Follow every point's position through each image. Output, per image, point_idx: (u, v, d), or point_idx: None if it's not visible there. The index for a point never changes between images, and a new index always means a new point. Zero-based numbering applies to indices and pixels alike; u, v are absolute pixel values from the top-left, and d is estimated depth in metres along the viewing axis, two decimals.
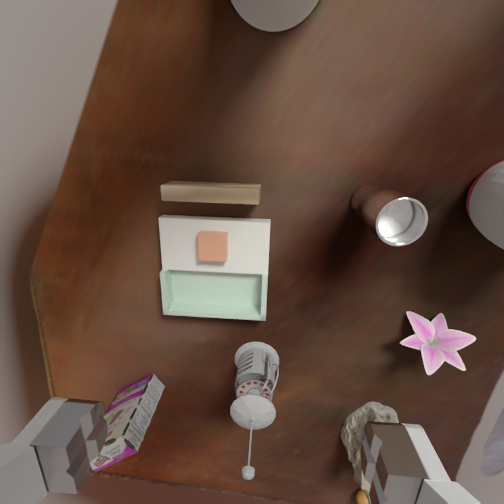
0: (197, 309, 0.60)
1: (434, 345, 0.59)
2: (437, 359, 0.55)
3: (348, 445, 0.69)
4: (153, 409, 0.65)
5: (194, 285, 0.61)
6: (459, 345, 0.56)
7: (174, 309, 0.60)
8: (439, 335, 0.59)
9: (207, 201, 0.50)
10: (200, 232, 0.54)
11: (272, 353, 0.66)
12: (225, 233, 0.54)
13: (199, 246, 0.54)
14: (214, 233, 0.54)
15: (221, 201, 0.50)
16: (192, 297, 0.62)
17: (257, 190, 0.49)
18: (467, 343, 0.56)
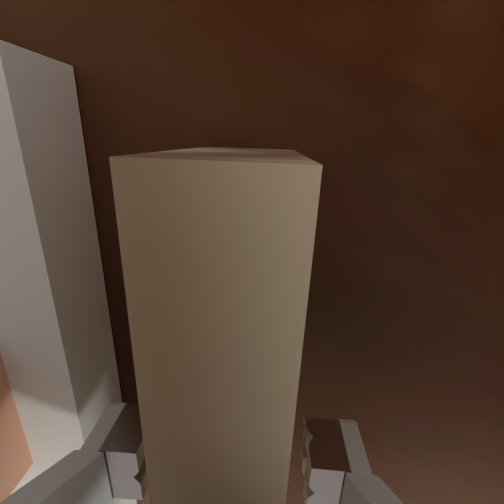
0: None
1: None
2: None
3: None
4: None
5: None
6: None
7: None
8: None
9: None
10: None
11: None
12: (4, 493, 0.09)
13: None
14: None
15: None
16: None
17: None
18: None
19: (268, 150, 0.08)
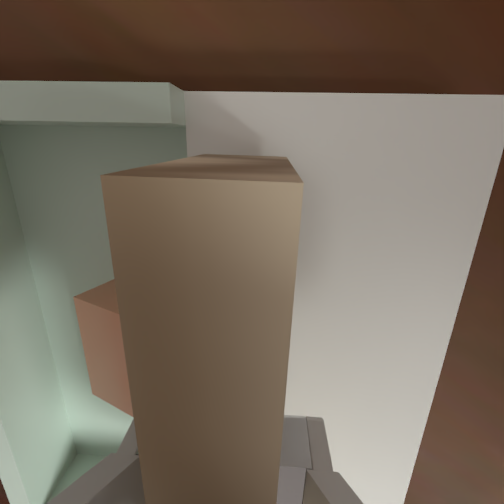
0: None
1: None
2: None
3: None
4: None
5: None
6: None
7: None
8: None
9: None
10: None
11: None
12: None
13: (119, 320, 0.11)
14: None
15: None
16: (48, 223, 0.13)
17: None
18: None
19: (260, 159, 0.08)
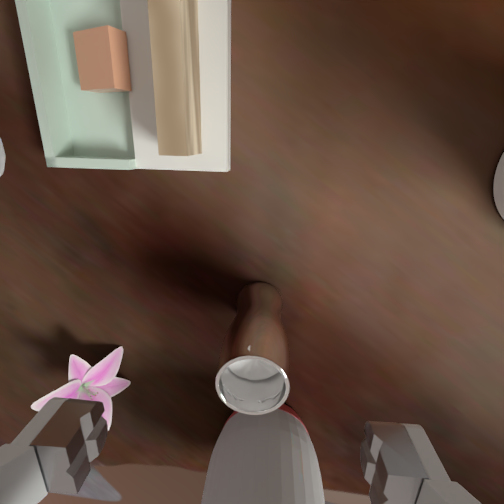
0: (35, 17, 0.29)
1: (82, 390, 0.44)
2: None
3: None
4: None
5: (89, 14, 0.31)
6: None
7: None
8: (99, 391, 0.44)
9: (152, 43, 0.24)
10: (114, 31, 0.28)
11: None
12: (121, 86, 0.30)
13: (91, 31, 0.28)
14: (117, 63, 0.29)
15: (156, 76, 0.25)
16: (62, 7, 0.30)
17: (183, 152, 0.27)
18: None
19: None
